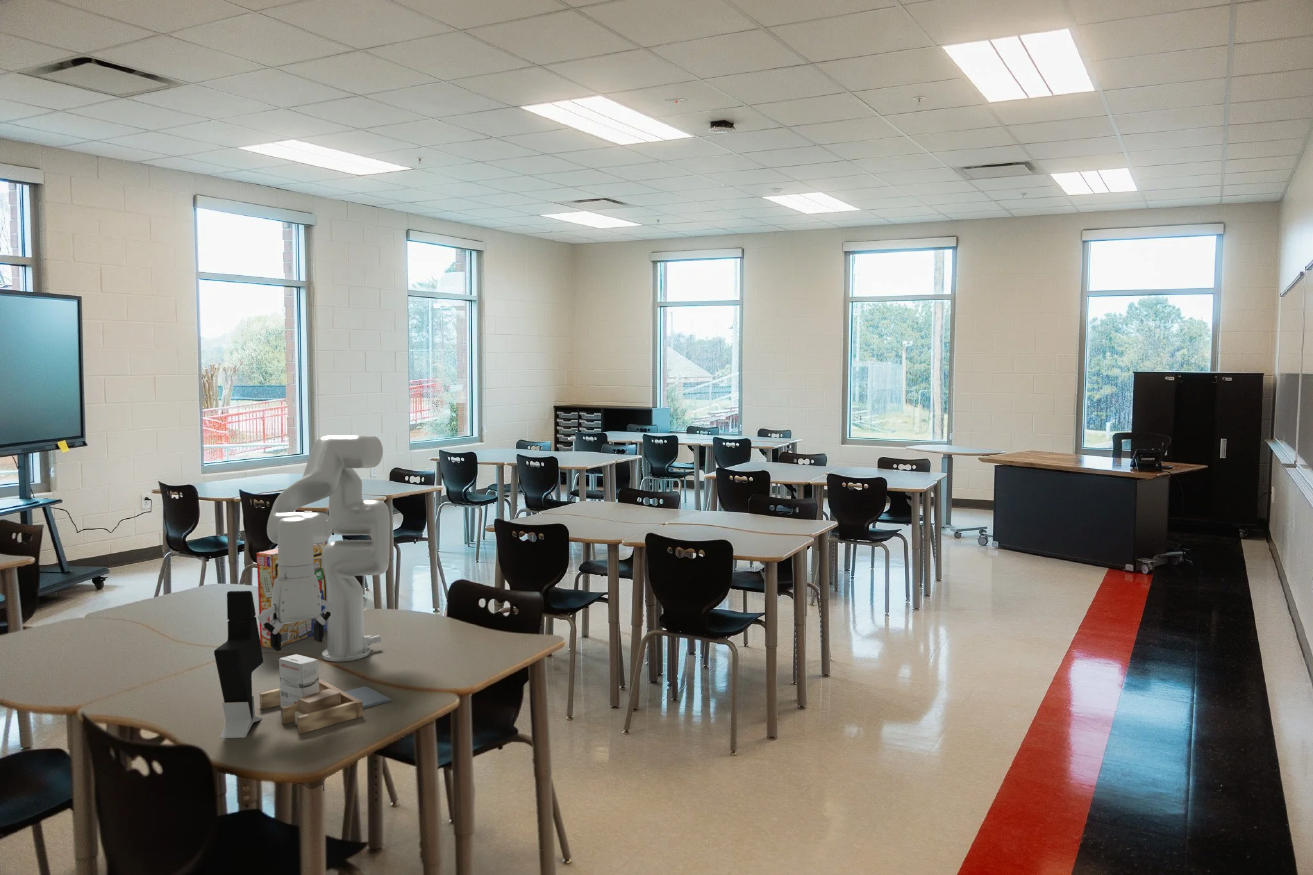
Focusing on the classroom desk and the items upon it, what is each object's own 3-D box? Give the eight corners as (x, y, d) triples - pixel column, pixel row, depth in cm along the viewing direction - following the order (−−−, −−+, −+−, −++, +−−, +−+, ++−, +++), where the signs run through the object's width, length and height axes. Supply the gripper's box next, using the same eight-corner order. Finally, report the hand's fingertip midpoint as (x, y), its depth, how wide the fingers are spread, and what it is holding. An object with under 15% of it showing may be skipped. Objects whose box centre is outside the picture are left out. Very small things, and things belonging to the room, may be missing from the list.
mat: (365, 688, 224) (365, 685, 224) (390, 700, 215) (390, 698, 215) (334, 696, 218) (334, 694, 218) (358, 709, 210) (358, 707, 210)
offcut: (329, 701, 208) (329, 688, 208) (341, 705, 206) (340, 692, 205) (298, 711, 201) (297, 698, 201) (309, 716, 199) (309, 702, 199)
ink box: (321, 708, 210) (320, 658, 210) (303, 715, 206) (301, 664, 205) (297, 701, 215) (296, 652, 214) (279, 707, 211) (277, 657, 210)
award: (242, 714, 207) (238, 584, 204) (266, 714, 207) (262, 583, 205) (215, 742, 192) (210, 601, 189) (241, 741, 192) (237, 600, 190)
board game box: (315, 628, 276) (312, 539, 274) (330, 630, 273) (328, 541, 271) (258, 646, 257) (256, 551, 255) (274, 649, 255) (271, 553, 253)
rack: (318, 692, 221) (318, 678, 221) (362, 716, 206) (362, 701, 205) (259, 707, 211) (258, 692, 211) (301, 734, 196) (300, 718, 195)
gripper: (325, 564, 217) (326, 635, 218) (251, 574, 205) (252, 649, 206) (339, 568, 212) (341, 641, 213) (264, 579, 199) (266, 656, 200)
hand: (297, 645), depth 209 cm, fingers open, 9 cm apart
